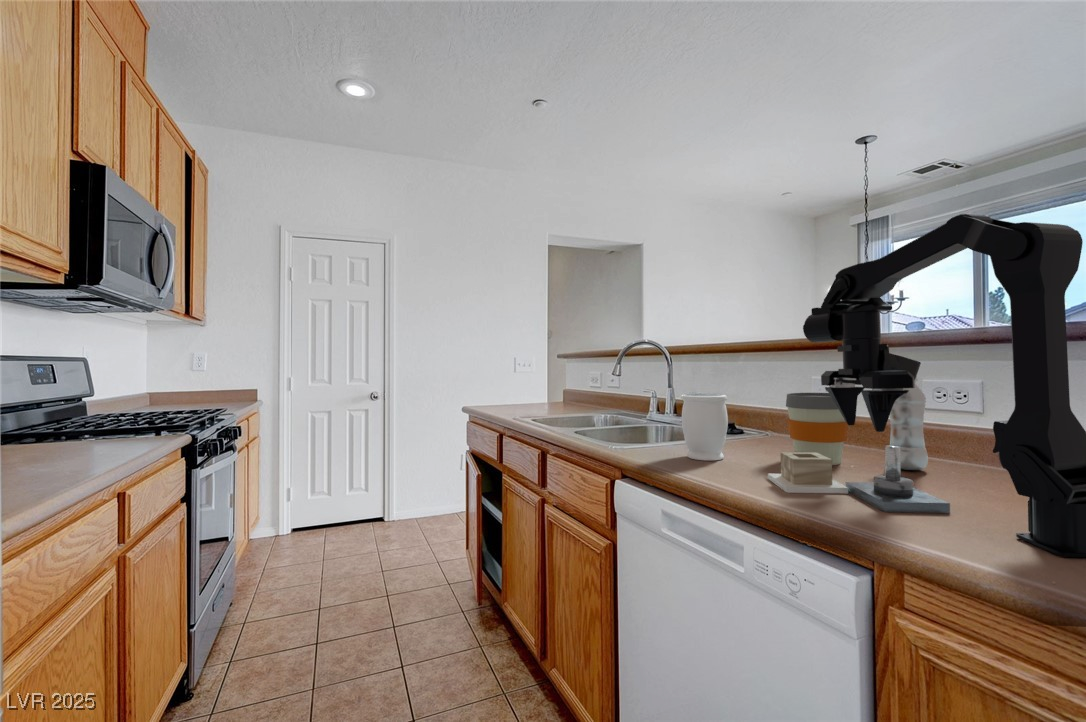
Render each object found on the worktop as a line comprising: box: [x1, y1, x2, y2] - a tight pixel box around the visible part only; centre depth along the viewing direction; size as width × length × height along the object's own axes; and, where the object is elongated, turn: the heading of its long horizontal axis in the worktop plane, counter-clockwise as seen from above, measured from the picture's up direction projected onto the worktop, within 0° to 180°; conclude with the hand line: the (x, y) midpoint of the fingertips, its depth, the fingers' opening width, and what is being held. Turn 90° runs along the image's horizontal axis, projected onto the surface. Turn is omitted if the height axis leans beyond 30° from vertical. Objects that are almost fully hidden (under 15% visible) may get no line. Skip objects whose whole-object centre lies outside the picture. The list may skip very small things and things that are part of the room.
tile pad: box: [767, 472, 849, 495], centre depth 88 cm, size 10×10×1 cm
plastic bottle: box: [888, 376, 929, 471], centre depth 99 cm, size 6×7×20 cm
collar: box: [780, 451, 833, 485], centre depth 88 cm, size 6×6×4 cm
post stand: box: [845, 445, 951, 514], centre depth 78 cm, size 12×9×9 cm
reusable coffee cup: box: [785, 392, 849, 466], centre depth 109 cm, size 13×13×15 cm
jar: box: [681, 393, 729, 462], centre depth 115 cm, size 11×10×15 cm
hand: (864, 428), depth 85 cm, fingers open, 9 cm apart
